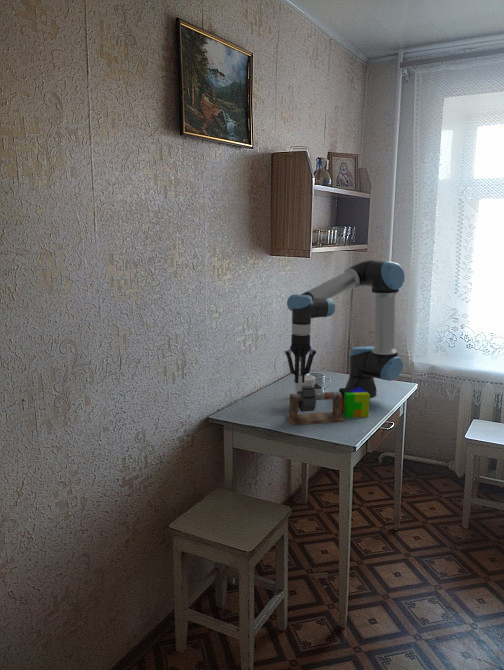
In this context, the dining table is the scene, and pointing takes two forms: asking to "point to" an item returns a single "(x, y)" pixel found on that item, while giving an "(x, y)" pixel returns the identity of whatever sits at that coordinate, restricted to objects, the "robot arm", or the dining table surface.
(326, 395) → the pipe rig
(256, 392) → the dining table surface
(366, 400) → the puzzle toy
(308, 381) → the foam cup
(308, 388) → the dark gray notched block
